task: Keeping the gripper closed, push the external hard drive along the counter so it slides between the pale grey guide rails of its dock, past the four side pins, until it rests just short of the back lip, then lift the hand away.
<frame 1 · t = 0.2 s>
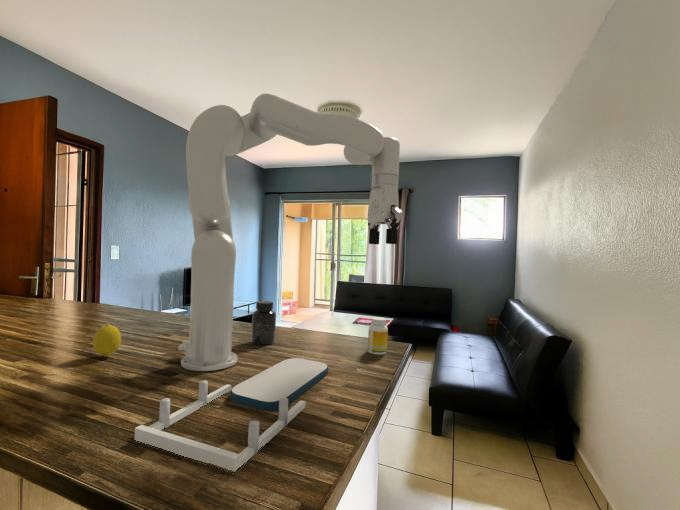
hand: (382, 244, 94), 31 cm above the counter, tool pointing down, fingers open, 9 cm apart
external hard drive: (284, 386, 69), on the counter
supplement bottle: (263, 343, 99), on the counter
dock: (244, 411, 56), on the counter
supplement bottle 2: (377, 353, 94), on the counter
lemon: (106, 357, 80), on the counter
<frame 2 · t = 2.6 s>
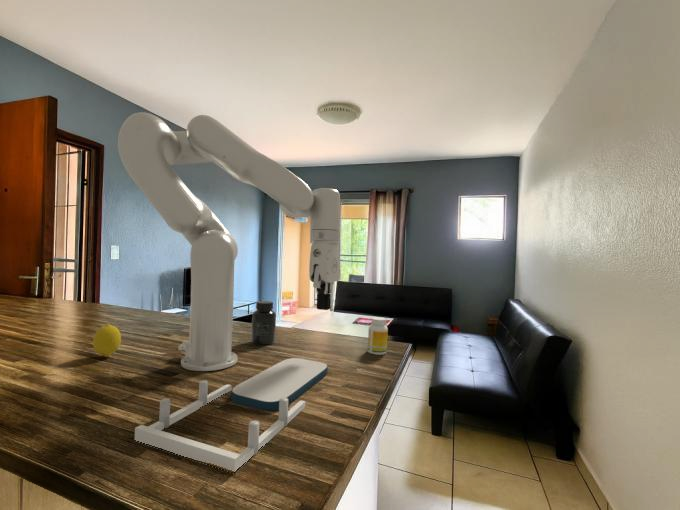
hand: (323, 309, 86), 13 cm above the counter, tool pointing down, fingers closed
nothing on the counter moved.
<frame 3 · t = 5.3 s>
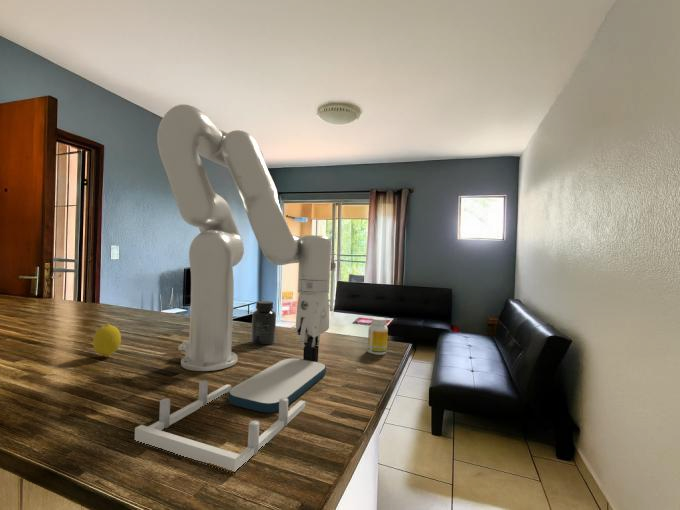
hand: (310, 362, 81), 1 cm above the counter, tool pointing down, fingers closed
external hard drive: (282, 387, 68), on the counter, touching gripper
everything else where it was.
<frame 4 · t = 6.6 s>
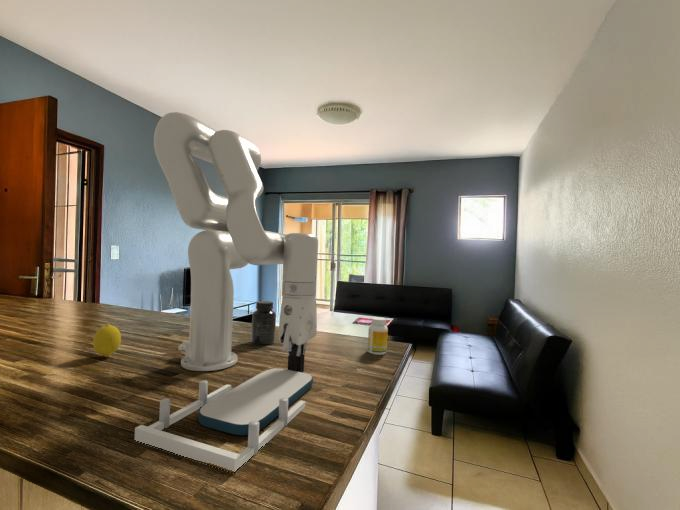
hand: (295, 372, 73), 1 cm above the counter, tool pointing down, fingers closed
external hard drive: (262, 403, 61), on the counter
everything else where it was.
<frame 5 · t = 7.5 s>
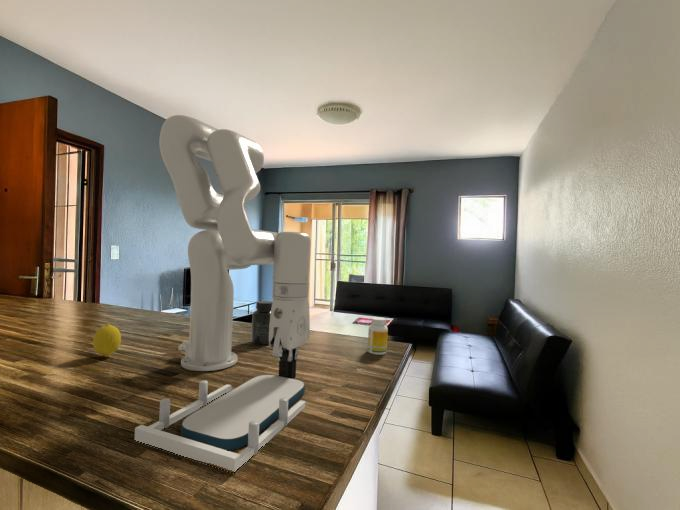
hand: (287, 378, 70), 1 cm above the counter, tool pointing down, fingers closed
external hard drive: (251, 412, 57), on the counter, touching gripper
everything else where it was.
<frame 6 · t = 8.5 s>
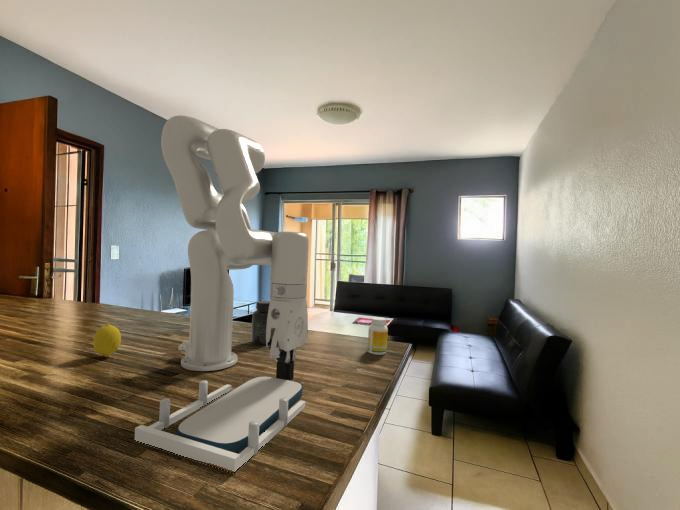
hand: (284, 379, 69), 1 cm above the counter, tool pointing down, fingers closed
external hard drive: (248, 415, 56), on the counter
everything else where it was.
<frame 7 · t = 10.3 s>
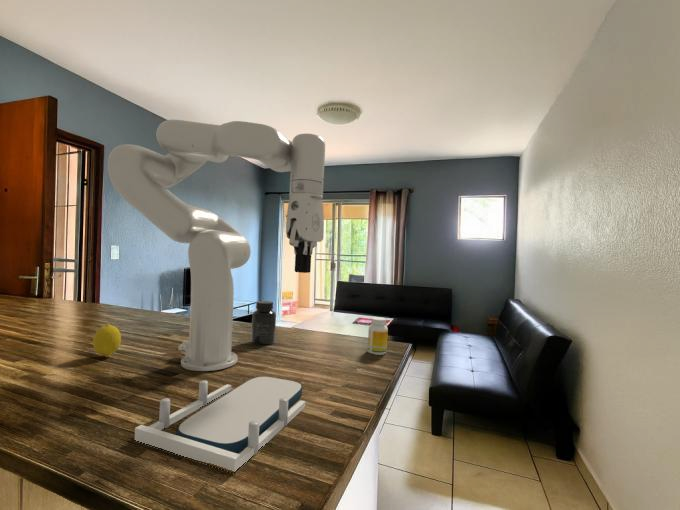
hand: (302, 272, 76), 23 cm above the counter, tool pointing down, fingers closed
nothing on the counter moved.
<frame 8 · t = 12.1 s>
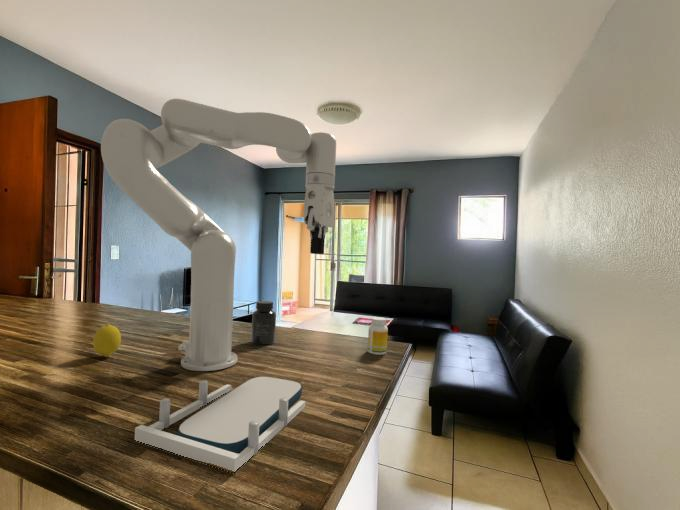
hand: (317, 253, 86), 27 cm above the counter, tool pointing down, fingers closed
nothing on the counter moved.
at the end: external hard drive inside the target area (0.7 cm from its centre), on the counter; external hard drive moved 13.3 cm from its start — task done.
